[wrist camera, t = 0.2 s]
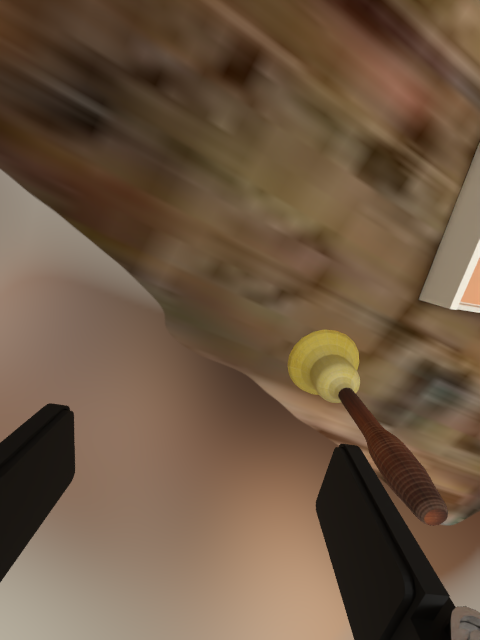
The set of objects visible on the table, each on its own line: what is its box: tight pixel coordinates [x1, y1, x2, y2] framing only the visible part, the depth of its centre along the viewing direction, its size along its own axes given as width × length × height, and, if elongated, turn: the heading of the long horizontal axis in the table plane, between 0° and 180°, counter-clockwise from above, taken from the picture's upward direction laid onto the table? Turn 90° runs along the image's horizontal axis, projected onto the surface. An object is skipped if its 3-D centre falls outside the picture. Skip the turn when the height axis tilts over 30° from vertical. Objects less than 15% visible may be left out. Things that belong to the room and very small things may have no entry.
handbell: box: [288, 330, 448, 526], centre depth 30 cm, size 12×12×25 cm
